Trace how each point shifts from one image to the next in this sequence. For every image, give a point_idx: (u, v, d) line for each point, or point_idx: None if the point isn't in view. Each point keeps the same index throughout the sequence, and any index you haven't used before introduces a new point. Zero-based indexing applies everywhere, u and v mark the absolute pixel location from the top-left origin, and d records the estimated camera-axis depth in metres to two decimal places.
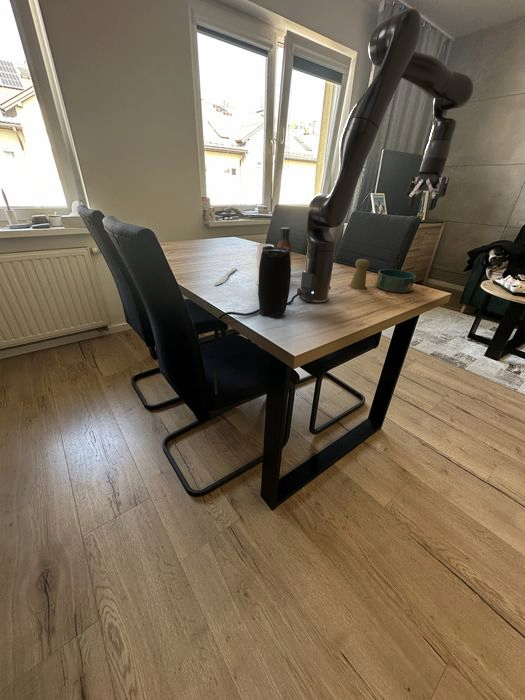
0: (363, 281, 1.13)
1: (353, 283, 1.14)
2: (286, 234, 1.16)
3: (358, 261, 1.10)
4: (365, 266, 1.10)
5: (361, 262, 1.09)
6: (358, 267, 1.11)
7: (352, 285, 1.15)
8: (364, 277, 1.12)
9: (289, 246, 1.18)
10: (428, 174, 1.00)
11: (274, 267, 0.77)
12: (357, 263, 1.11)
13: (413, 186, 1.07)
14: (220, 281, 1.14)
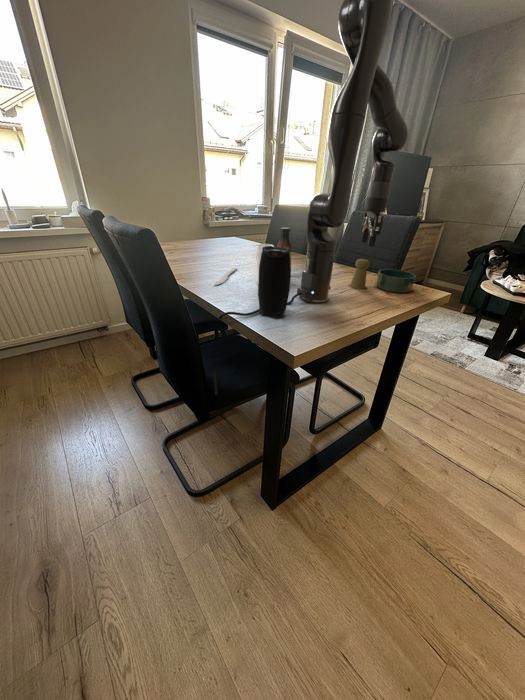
0: (363, 281, 1.13)
1: (353, 283, 1.14)
2: (286, 234, 1.16)
3: (358, 261, 1.10)
4: (365, 266, 1.10)
5: (361, 262, 1.09)
6: (358, 267, 1.11)
7: (352, 285, 1.15)
8: (364, 277, 1.12)
9: (289, 246, 1.18)
10: (371, 212, 1.02)
11: (274, 267, 0.77)
12: (357, 263, 1.11)
13: None
14: (220, 281, 1.14)
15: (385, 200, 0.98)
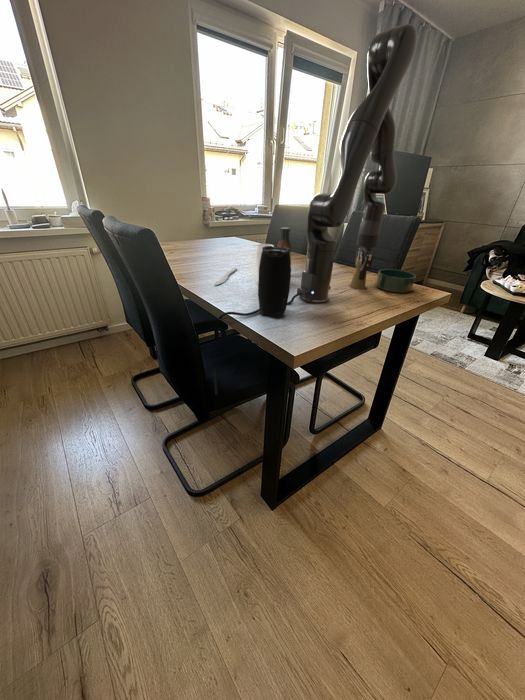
0: (363, 281, 1.13)
1: (353, 283, 1.14)
2: (286, 234, 1.16)
3: (358, 261, 1.10)
4: None
5: None
6: (358, 267, 1.11)
7: (352, 285, 1.15)
8: None
9: (289, 246, 1.18)
10: (363, 246, 1.08)
11: (274, 267, 0.77)
12: (357, 263, 1.11)
13: None
14: (220, 281, 1.14)
15: (376, 237, 1.04)
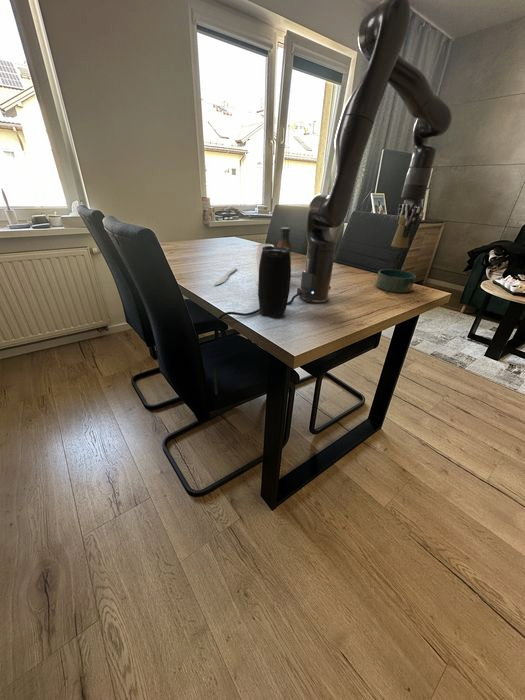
0: (407, 239, 1.05)
1: (395, 242, 1.06)
2: (286, 234, 1.16)
3: (402, 216, 1.02)
4: None
5: None
6: (402, 223, 1.03)
7: (394, 244, 1.07)
8: None
9: (289, 246, 1.18)
10: (408, 200, 1.00)
11: (274, 267, 0.77)
12: (401, 219, 1.03)
13: None
14: (220, 281, 1.14)
15: (425, 187, 0.96)
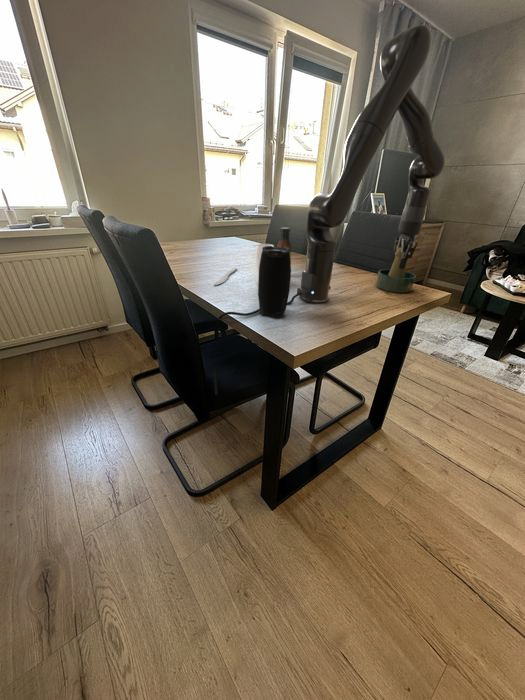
0: (403, 270, 1.11)
1: (392, 272, 1.12)
2: (286, 234, 1.16)
3: (399, 249, 1.08)
4: None
5: None
6: (399, 255, 1.09)
7: (391, 274, 1.13)
8: (405, 266, 1.10)
9: (289, 246, 1.18)
10: (404, 234, 1.06)
11: (274, 267, 0.77)
12: (398, 251, 1.08)
13: None
14: (220, 281, 1.14)
15: (420, 224, 1.01)
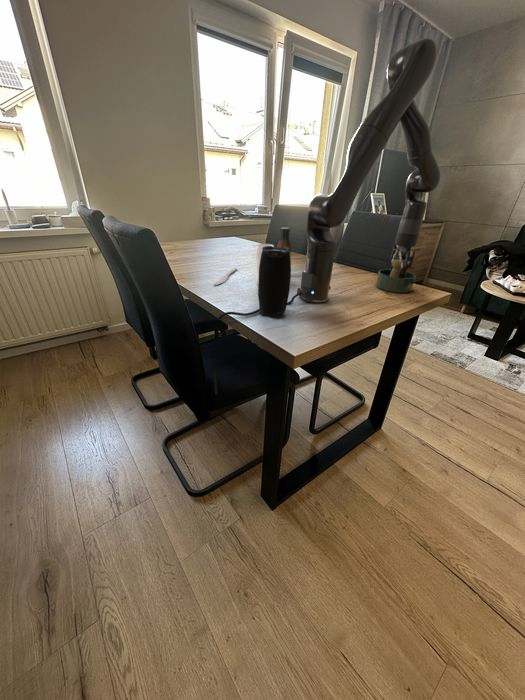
0: None
1: None
2: (286, 234, 1.16)
3: (395, 261, 1.10)
4: None
5: (399, 262, 1.09)
6: (395, 267, 1.11)
7: None
8: None
9: (289, 246, 1.18)
10: (401, 246, 1.08)
11: (274, 267, 0.77)
12: (394, 263, 1.11)
13: None
14: (220, 281, 1.14)
15: (416, 236, 1.03)
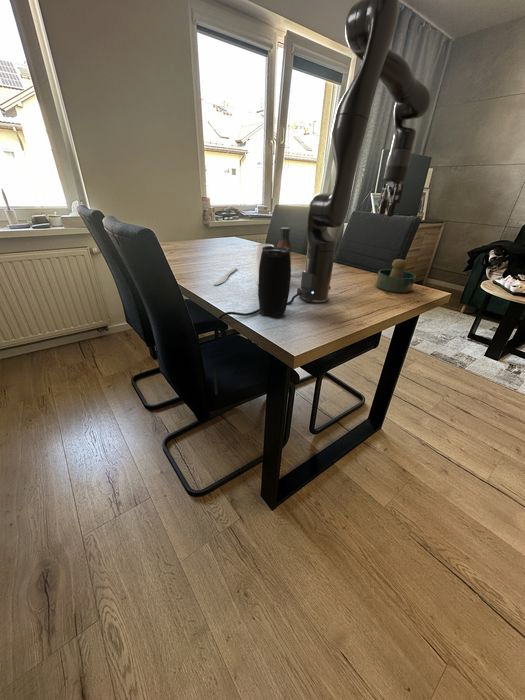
0: None
1: None
2: (286, 234, 1.16)
3: (395, 261, 1.10)
4: (403, 266, 1.10)
5: (399, 262, 1.09)
6: (395, 267, 1.11)
7: None
8: (401, 277, 1.12)
9: (289, 246, 1.18)
10: (390, 181, 1.03)
11: (274, 267, 0.77)
12: (394, 263, 1.11)
13: (386, 193, 1.10)
14: (220, 281, 1.14)
15: (405, 168, 0.98)
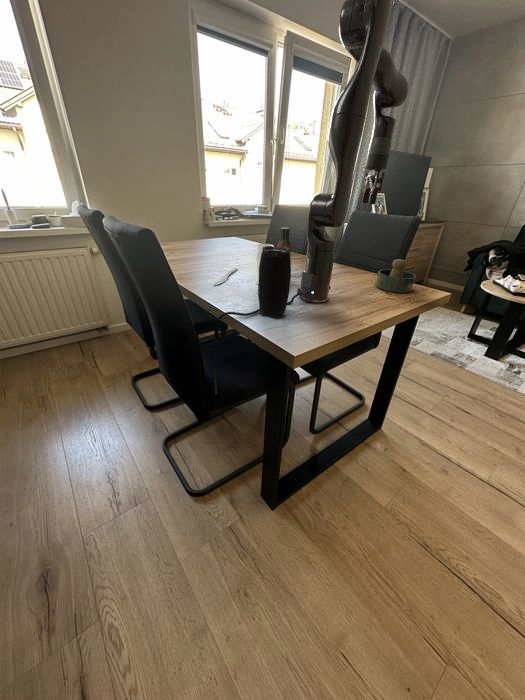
0: None
1: None
2: (286, 234, 1.16)
3: (395, 261, 1.10)
4: (403, 266, 1.10)
5: (399, 262, 1.09)
6: (395, 267, 1.11)
7: None
8: (401, 277, 1.12)
9: (289, 246, 1.18)
10: (371, 170, 1.05)
11: (274, 267, 0.77)
12: (394, 263, 1.11)
13: None
14: (220, 281, 1.14)
15: (386, 156, 1.00)
